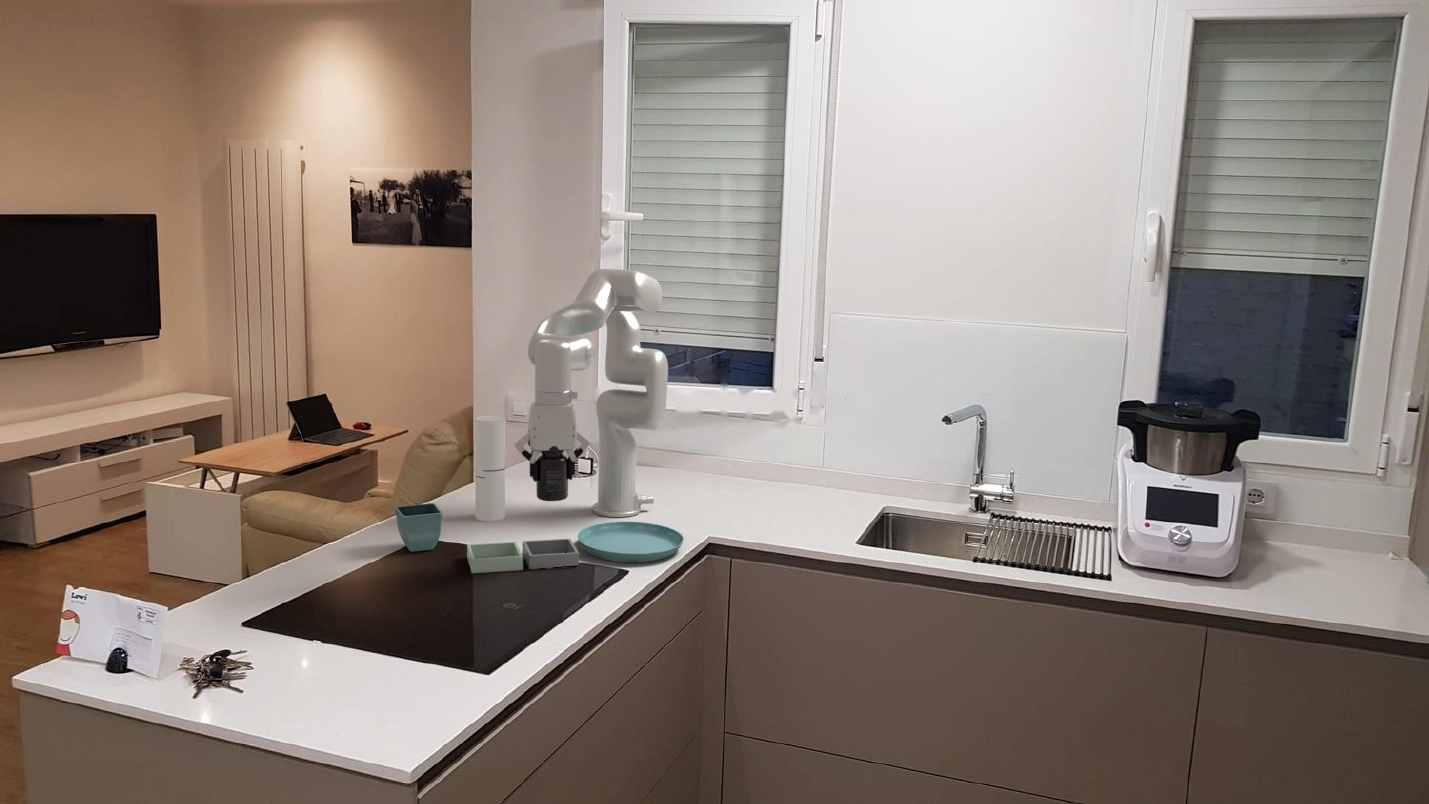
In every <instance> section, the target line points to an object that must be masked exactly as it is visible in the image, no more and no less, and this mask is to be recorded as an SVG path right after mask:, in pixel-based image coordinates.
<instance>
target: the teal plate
mask: <svg viewBox="0 0 1429 804" xmlns="http://www.w3.org/2000/svg"><path fill="white" fill-rule="evenodd" d="M577 539H578V542H579V543H580V545H581V546H582V547H583V549H584V550H586V551H587V552H588V553H590V554H591V555H592V556H594V557H596V556H597V558H599V559H601V560H605V559H606V560H607V561H610V560H611V562H616V561H619V562H618V563H628V562H638V563H649V562H648V561H650V562H655V560H656V561H659V560H663V558H664V559H666V558H669V557H670V556H672V555H674V553H676V552H677V551H679V549H680V548H681V547H682V545H683V543H684V541H685V537H684V535H683V534H682V533H681V532H679V531H678V530H676V529H674V528H672V527H669V526H664V525H660V524H658V523H657V524H656V523H650V522H649V523H648V522H641V521H611V522H602V523H598V524H592V525H590V526H587V527H585V528H583V529H581V530H580V531H579V532H578V533H577ZM646 561H647V562H646Z"/></svg>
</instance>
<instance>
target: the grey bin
mask: <svg viewBox="0 0 1429 804" xmlns="http://www.w3.org/2000/svg"><path fill="white" fill-rule="evenodd" d="M565 552H567V553H565ZM522 555H523V560H525V563H526V565H527V567H528V569H531V570H541V569H540V568H546V569H554V568H553V567H562V566H573V565H579V566H580V552H579V550H578V549H577V548H576V546H575V544H574V543H573V541H572V539H571V538H558V539H557V538H556V539H555V538H553V539H539V540H523V541H522ZM538 568H539V569H538ZM562 568H563V567H562Z"/></svg>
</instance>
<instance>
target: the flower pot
mask: <svg viewBox="0 0 1429 804" xmlns="http://www.w3.org/2000/svg"><path fill="white" fill-rule="evenodd" d="M394 509H395V517H396V523H397V529H398V532H399V535H400V538H401V540H402V541H403V543H404V545H405V547H406V548H407V550H408V551H409V552H410V551H411V553H413V552H414V551H415V552H423V551H430V550H434V549H435V547H436V545H437V544H438V542H439V540H440V536H441V533H442V525H443V524H442V523H443V515H444V512H443V511H442V510H441V509H440V508H439V507H438V506H437V505H436V503H434V502H431V503H430V502H429V503H420V504H419V503H418V504H411V505H409V504H407V505H398V506H395V508H394Z"/></svg>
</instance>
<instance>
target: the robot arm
mask: <svg viewBox="0 0 1429 804" xmlns="http://www.w3.org/2000/svg"><path fill="white" fill-rule="evenodd" d="M662 303H663V289H662V287H661V285H660V283H659V281H658V280H657V279H656V278H653V277H652V276H650V275H648V274H646V273H644V272H642V271H638V270H635V269H634V270H633V269H618V268H617V269H616V268H599V269H595V270H594V271H593V272H592V273H591V274H589V276H588V277H587V279H586V281H585V283H584V285H583V286H582V288H581V289H580V291H579V293H578V294H577V296H576V298H575V300H574V301H573V302H572V303H571V304H569V305H566V306H565V307H562V308H560V309H558V310H557V311H554V312H552V313H551V314H549V315H547V316H546V317H545V318H543V320H541V321H540V323H539V324H538V326H537V327H536V329H535V330H534V332H533V334H532V336H531V338H530V341H529V344H528V348H527V356H528V360H529V361H530V363H531V364H532V365H533V366H534V402H533V403H531V404H530V407H529V414H528V415H529V416H528V424H527V432H526V434H525V435H524V436H522V437H521V438H520V439H519V440H518V441H517V442H516V443H515V444H514V447H515V448H516V450H517V451H518V452H519V453H520V454H521V455H522V456H523V457H524V458H525V459H526V460H527V461H528V462H529V476H530V478H532V480H533V482H536V481H538V464H537V462H536V461H537V458H538V457H539V456H540V454H541V451H547V450H549V448H551V446H557V447H558V449H559V450H561V451H564V452H566V453H567V455H568V457H567V459H568V481H573V476H575V474H576V461H578V458H579V457H580V456H581V455H583V453H584V451H585V450H587V448H588V447H589V446H590V444H591V443H590V441H588V439H586V438H585V437H584V436H583V435H582V434H580V433H579V432H578V431H577V420H576V419H577V418H576V412H575V410H576V409H575V406H574V403H573V402H572V401H573V400H574V399H578V392H577V391H575V392H574V391H572V389H571V387H572V386H571V385H572V383H571V381H572V380H571V378H572V375H571V374H572V372H573V371H574V372H575V371H576V372H580V371H584V370H586V369H588V368H589V367H590V366H591V365H592V363H593V361H594V359H595V347H594V344H593V343H592V342H591V340H589V339H588V338H586V337H585V336H584V337H583V336H579V335H585V334H589V333H593V332H594V331H597V330H599V329H601V328H603V327H604V325H605V324H606V346H605V363H604V371H605V377H606V379H607V380H608V381H609V382H611V383H613V384H618V385H625V386H626V385H627V386H641V387H645V389H646V391H641V390H633V389H621V388H619V389H618V388H617V389H616V388H615V389H614V388H613V389H607V390H605V391H602V392H601V393H600V394H599V396H597V400H596V404H595V405H596V406H595V407H596V409H595V410H596V416H597V423H598V437H599V440H598V443H599V444H598V488H597V489H598V492H597V493H598V494H597V497H598V498H597V502H595V503H593V504H592V505H591V511H592V513H594V514H595V515H598V516H603V517H609V518H627V517H633V516H636V515H638V514H640V513H641V511H642V505H644V504H646V505H651V504H652V505H653V504H654V496H652V495H651V496H650V495H648V496H647V495H646V494H644V495H643V494H641V495H638V493H636V485H637V484H636V481H637V454H638V453H637V449H638V448H637V447H638V446H637V441H636V439H635V437H634V434H632V432H631V430H630V429H634V430H635V429H637V430H645V431H654V430H655V431H656V430H659V429H660V428H662V426H663V424H664V421H665V417H666V411H667V410H666V407H667V392H668V391H667V390H668V379H669V378H668V377H669V364H668V359H667V356H666V354H665V353H664V352H663V351H662V350H659V349H655V348H645V347H641V334H642V329H641V328H642V327H641V325H640V322H639V320H638V319H637V317H636V316H635V314H634V313H638V314H654V313H655V312H657V311H658V310H659V309H660V307H661V305H662ZM578 442H579V443H580V444H579V446H578V447H577V444H578ZM526 444H527V445H528V446H529V447H530V449H531V450H530V452H529V451H528V450H527V449H526V448H525V447H524V446H525V445H526ZM574 449H575V450H574Z"/></svg>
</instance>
